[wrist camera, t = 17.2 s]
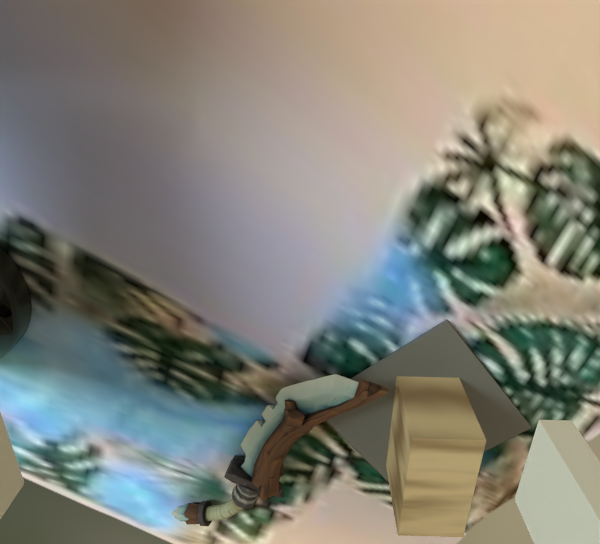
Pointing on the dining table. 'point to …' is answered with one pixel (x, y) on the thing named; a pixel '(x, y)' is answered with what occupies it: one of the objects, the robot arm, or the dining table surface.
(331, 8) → the dining table surface
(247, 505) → the decorative knife
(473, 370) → the charcoal mat
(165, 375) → the dining table surface
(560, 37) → the dining table surface
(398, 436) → the beech block
